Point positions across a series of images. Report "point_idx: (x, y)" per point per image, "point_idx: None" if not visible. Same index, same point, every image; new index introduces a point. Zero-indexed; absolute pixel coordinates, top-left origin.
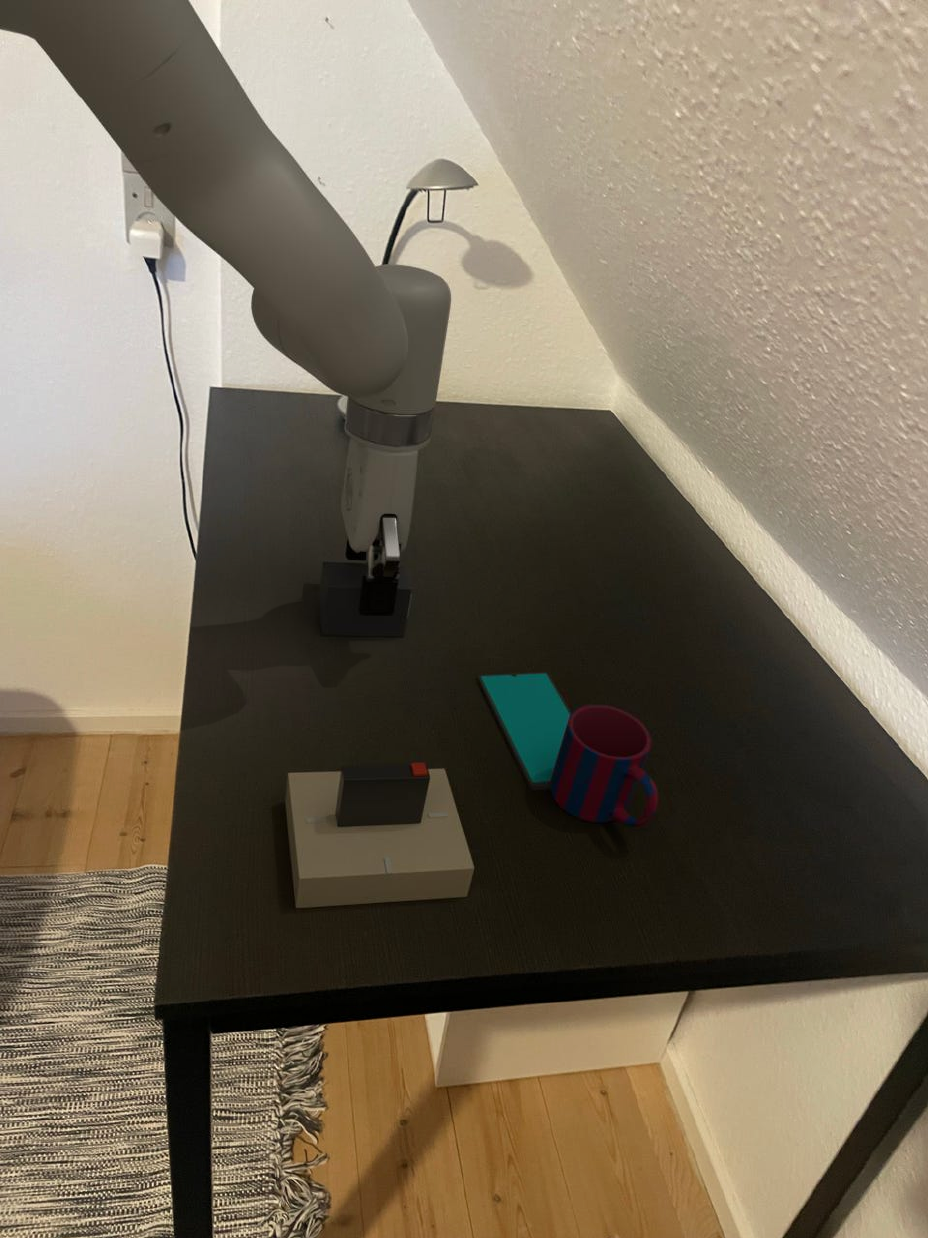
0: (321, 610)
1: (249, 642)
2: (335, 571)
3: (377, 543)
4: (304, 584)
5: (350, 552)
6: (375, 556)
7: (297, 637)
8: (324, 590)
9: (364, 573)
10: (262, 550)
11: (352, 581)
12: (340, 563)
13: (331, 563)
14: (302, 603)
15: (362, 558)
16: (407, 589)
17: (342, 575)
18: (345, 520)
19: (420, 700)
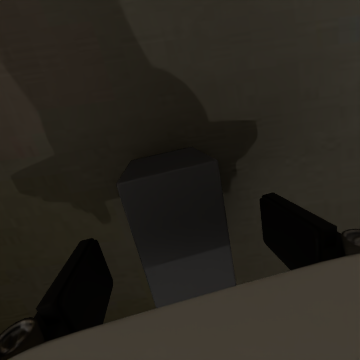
0: (156, 158)
1: (80, 54)
2: (182, 191)
3: (285, 262)
4: (252, 120)
5: (268, 206)
6: (268, 244)
7: (117, 127)
8: (148, 169)
9: (189, 244)
10: (337, 43)
11: (153, 227)
12: (217, 196)
13: (213, 179)
14: (204, 124)
15: (263, 222)
16: None
17: (170, 207)
18: (228, 322)
19: (36, 283)
